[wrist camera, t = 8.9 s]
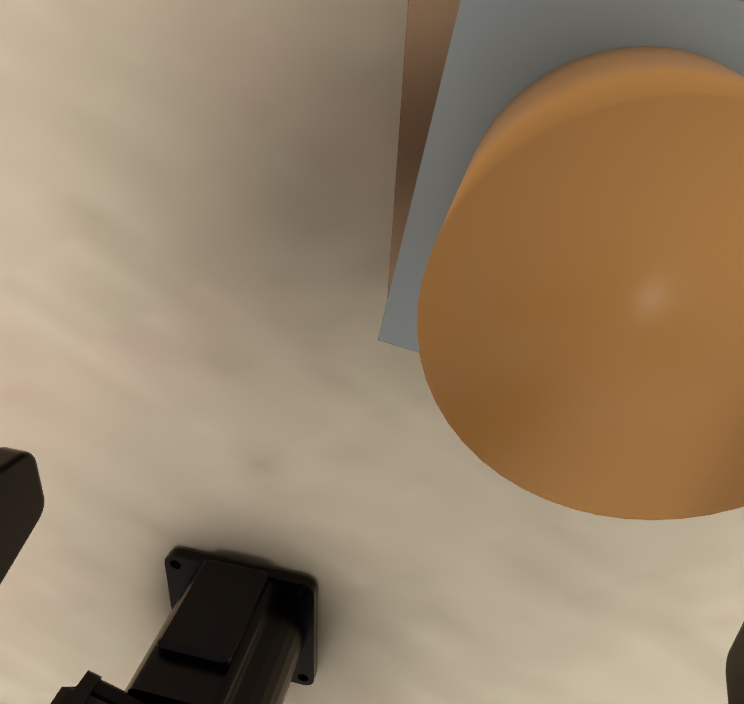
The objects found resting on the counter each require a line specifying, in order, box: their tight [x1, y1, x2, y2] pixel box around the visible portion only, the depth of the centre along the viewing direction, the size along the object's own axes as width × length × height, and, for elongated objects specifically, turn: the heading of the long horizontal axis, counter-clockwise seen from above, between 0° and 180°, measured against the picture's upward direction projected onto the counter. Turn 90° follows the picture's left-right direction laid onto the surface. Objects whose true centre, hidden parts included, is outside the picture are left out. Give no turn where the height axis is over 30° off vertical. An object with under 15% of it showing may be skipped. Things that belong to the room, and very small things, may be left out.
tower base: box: [387, 0, 744, 300], centre depth 17 cm, size 10×10×3 cm
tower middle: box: [378, 0, 744, 353], centre depth 14 cm, size 8×8×3 cm
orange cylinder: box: [417, 46, 744, 520], centre depth 11 cm, size 6×6×5 cm
